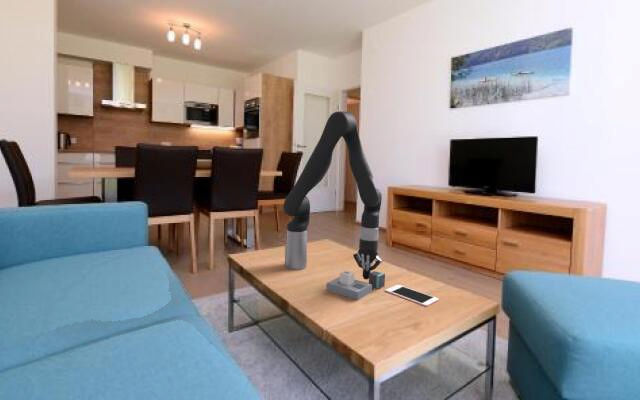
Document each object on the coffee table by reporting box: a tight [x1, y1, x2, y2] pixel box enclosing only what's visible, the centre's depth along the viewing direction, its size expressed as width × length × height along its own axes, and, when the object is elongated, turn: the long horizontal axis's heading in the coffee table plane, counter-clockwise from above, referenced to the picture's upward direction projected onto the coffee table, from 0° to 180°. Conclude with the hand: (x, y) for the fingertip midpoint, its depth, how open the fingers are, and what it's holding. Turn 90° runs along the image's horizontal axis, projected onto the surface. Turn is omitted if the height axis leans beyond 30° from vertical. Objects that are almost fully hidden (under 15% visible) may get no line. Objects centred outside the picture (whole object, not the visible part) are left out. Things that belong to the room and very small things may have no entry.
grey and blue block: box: [368, 270, 386, 290], centre depth 138 cm, size 5×4×5 cm
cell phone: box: [384, 284, 439, 308], centre depth 129 cm, size 9×18×1 cm, turn 43°
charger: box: [339, 270, 355, 286], centre depth 132 cm, size 4×4×7 cm
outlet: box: [326, 276, 373, 301], centre depth 132 cm, size 14×10×3 cm
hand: (366, 278), depth 141 cm, fingers closed
